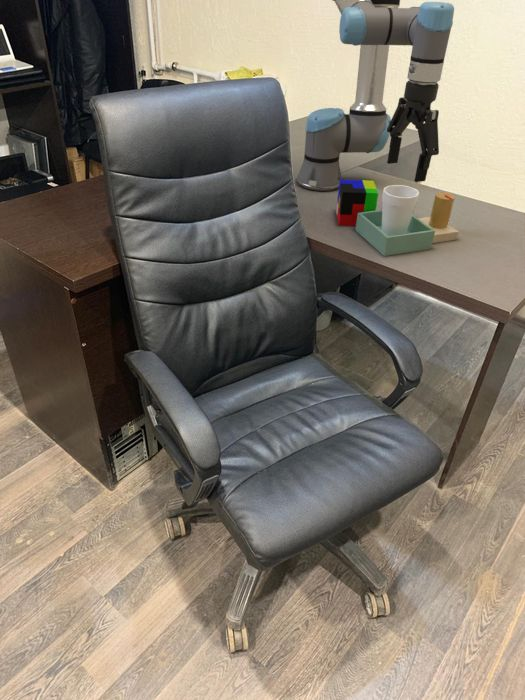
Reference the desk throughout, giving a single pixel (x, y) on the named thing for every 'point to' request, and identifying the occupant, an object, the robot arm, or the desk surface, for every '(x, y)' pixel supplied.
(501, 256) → the desk surface
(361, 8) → the robot arm
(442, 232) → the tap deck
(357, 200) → the puzzle toy
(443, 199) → the tap handle
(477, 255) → the desk surface
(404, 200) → the foam cup
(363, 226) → the basin
